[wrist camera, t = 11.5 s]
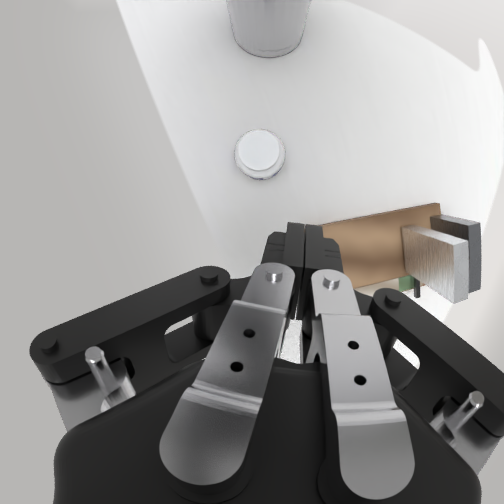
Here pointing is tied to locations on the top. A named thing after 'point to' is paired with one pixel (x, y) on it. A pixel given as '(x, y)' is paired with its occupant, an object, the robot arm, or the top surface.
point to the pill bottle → (259, 154)
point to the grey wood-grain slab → (467, 232)
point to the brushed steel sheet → (437, 262)
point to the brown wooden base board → (378, 247)
